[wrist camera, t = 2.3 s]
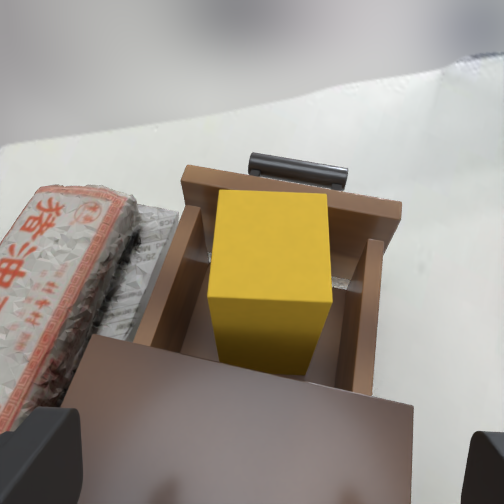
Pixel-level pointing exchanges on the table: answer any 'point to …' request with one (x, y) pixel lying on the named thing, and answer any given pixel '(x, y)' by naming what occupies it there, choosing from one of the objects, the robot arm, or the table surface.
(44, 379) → the packaged product
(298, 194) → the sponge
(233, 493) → the cabinet
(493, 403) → the table surface
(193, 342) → the drawer
